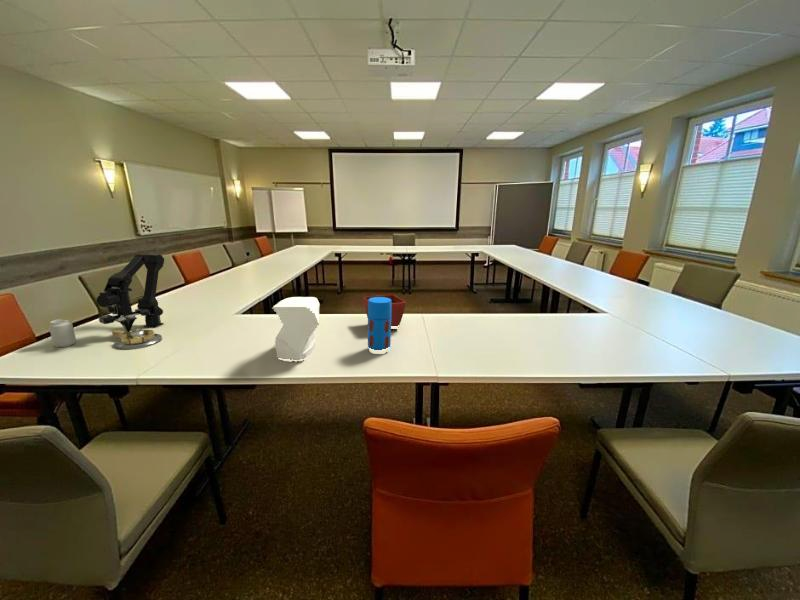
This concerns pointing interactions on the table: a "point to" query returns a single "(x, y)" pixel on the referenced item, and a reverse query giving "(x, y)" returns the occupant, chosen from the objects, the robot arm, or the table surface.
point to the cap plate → (139, 345)
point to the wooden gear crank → (136, 339)
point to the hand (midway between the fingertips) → (128, 332)
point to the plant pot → (396, 308)
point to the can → (62, 333)
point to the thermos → (379, 323)
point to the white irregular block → (297, 327)
